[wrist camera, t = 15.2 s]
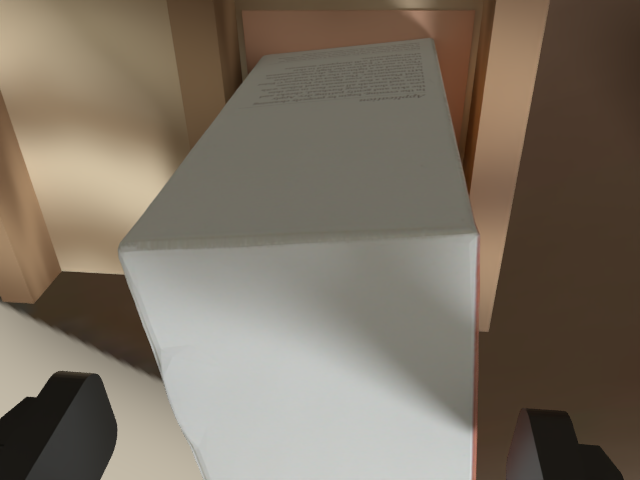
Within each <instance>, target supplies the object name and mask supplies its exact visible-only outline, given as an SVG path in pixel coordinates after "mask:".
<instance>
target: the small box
mask: <svg viewBox="0 0 640 480" xmlns="http://www.w3.org/2000/svg"><path fill="white" fill-rule="evenodd" d="M118 257H119V261H120V263H121V265H122V268H123V271H124V274H125V277H126V280H127V283H128V286H129V289H130V291H131V294H132V296H133V299H134V301H135V304H136V307H137V310H138V313H139V316H140V319H141V321H142V324H143V327H144V329H145V332H146V334H147V337H148V339H149V342H150V345H151V347H152V350H153V353H154V356H155V359H156V362H157V364H158V367H159V370H160V373H161V377H162V380H163V383H164V387H165V390H166V394H167V397H168V400H169V403H170V405H171V408H172V410H173V413H174V415H175V418H176V420H177V422H178V424H179V426H180V428H181V430H182V432H183V434H184V436H185V438H186V440H187V441H188V443H189V445H190V447H191V449H192V452H193V455H194V458H195V460H196V462H197V465H198V467H199V470H200V472H201V475H202V477H203V480H476V457H477V404H478V347H479V303H480V233H479V231H478V228H477V226H476V223H475V219H474V215H473V210H472V206H471V203H470V197H469V194H468V189H467V184H466V180H465V175H464V171H463V167H462V162H461V158H460V154H459V150H458V146H457V141H456V136H455V131H454V127H453V124H452V119H451V114H450V110H449V106H448V102H447V96H446V92H445V89H444V83H443V79H442V75H441V70H440V65H439V60H438V55H437V51H436V46H435V42H434V39H433V38H423V39H414V40H405V41H395V42H386V43H376V44H367V45H357V46H348V47H338V48H328V49H319V50H308V51H298V52H289V53H279V54H269V55H264V56H262V58H261V59H260V60H259V61H258V63H257V64H256V66H255V67H254V68H253V69H252V71H251V72H250V73H249V75H248V76H247V77H246V79H245V80H244V81H243V83H242V84H241V85H240V86H239V88H238V89H237V90H236V92H235V93H234V94H233V96H232V97H231V98H230V99H229V101H228V102H227V103H226V105H225V106H224V107H223V109H222V110H221V112H220V113H219V114H218V116H217V117H216V118H215V120H214V121H213V122H212V124H211V125H210V126H209V128H208V129H207V130H206V131H205V133H204V134H203V135H202V137H201V138H200V139H199V140H198V142H197V143H196V144H195V146H194V147H193V148H192V150H191V151H190V152H189V154H188V155H187V156H186V158H185V159H184V160H183V162H182V163H181V164H180V166H179V167H178V168H177V170H176V171H175V172H174V174H173V175H172V176H171V178H170V179H169V180H168V182H167V183H166V184H165V186H164V187H163V188H162V190H161V191H160V192H159V194H158V195H157V196H156V198H155V199H154V200H153V201H152V203H151V204H150V205H149V207H148V208H147V209H146V211H145V212H144V213H143V215H142V216H141V217H140V218H139V220H138V221H137V222H136V223H135V225H134V226H133V227H132V228H131V230H130V231H129V232H128V233H127V235H126V236H125V237H124V238H123V240H122V241H121V242H120V244H119V247H118Z"/></svg>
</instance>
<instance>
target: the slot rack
mask: <svg viewBox="0 0 640 480" xmlns="http://www.w3.org/2000/svg"><path fill="white" fill-rule="evenodd" d="M549 2H550V0H0V296H1V298H2V300H3V302H18V303H35V302H36V300H37V299H38V298H39V297H40V296H41V295H42V293H43V292H44V291H45V290H46V289H47V288H48V286H49V285H50V284H51V283H52V282H53V280H54V279H55V278H56V277H57V276H58V275H59V273H60V272H61V271H72V272H90V273H108V274H124V271H123V268H122V265H121V263H120V261H119V257H118V247H119V244H120V242H121V241H122V240H123V238H124V237H125V236H126V235H127V233H128V232H129V231H130V230H131V228H132V227H133V226H134V225H135V223H136V222H137V221H138V220H139V218H140V217H141V216H142V215H143V213H144V212H145V211H146V209H147V208H148V207H149V205H150V204H151V203H152V201H153V200H154V199H155V198H156V196H157V195H158V194H159V192H160V191H161V190H162V188H163V187H164V186H165V184H166V183H167V182H168V180H169V179H170V178H171V176H172V175H173V174H174V172H175V171H176V170H177V168H178V167H179V166H180V164H181V163H182V162H183V160H184V159H185V158H186V156H187V155H188V154H189V152H190V151H191V150H192V148H193V147H194V146H195V144H196V143H197V142H198V140H199V139H200V138H201V137H202V135H203V134H204V133H205V131H206V130H207V129H208V128H209V126H210V125H211V124H212V122H213V121H214V120H215V118H216V117H217V116H218V114H219V113H220V112H221V110H222V109H223V107H224V106H225V105H226V103H227V102H228V101H229V99H230V98H231V97H232V96H233V94H234V93H235V92H236V90H237V89H238V88H239V86H240V85H241V84H242V83H243V81H244V80H245V79H246V77H247V76H248V75H249V73H250V72H251V71H252V69H253V68H254V67H255V66H256V64H257V63H258V61H259V60H260V59H261V58H262V56H264V55H269V54H279V53H289V52H298V51H308V50H319V49H328V48H338V47H348V46H357V45H367V44H376V43H386V42H395V41H405V40H414V39H423V38H433V39H434V42H435V46H436V51H437V55H438V60H439V65H440V70H441V75H442V79H443V83H444V89H445V92H446V96H447V102H448V106H449V110H450V114H451V119H452V124H453V127H454V131H455V136H456V141H457V146H458V150H459V154H460V158H461V162H462V167H463V171H464V175H465V180H466V184H467V189H468V194H469V197H470V203H471V206H472V210H473V215H474V219H475V223H476V226H477V228H478V231H479V233H480V303H479V331H486V332H488V331H489V325H490V320H491V315H492V309H493V304H494V298H495V293H496V288H497V282H498V277H499V271H500V266H501V261H502V255H503V250H504V244H505V239H506V234H507V228H508V223H509V218H510V212H511V207H512V201H513V196H514V191H515V185H516V180H517V174H518V169H519V164H520V158H521V153H522V148H523V142H524V137H525V131H526V126H527V121H528V115H529V110H530V104H531V99H532V94H533V88H534V83H535V77H536V72H537V67H538V61H539V56H540V51H541V45H542V40H543V34H544V29H545V24H546V18H547V13H548V7H549Z"/></svg>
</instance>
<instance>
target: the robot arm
mask: <svg viewBox="0 0 640 480" xmlns="http://www.w3.org/2000/svg"><path fill="white" fill-rule="evenodd" d="M116 440H117V423H116V419H115V416H114V414H113V411H112V408H111V405H110V402H109V399H108V397H107V393H106V390H105V388H104V385H103V382H102V379H101V378H100V376H99V375H98V374H94V373H81V372H68V371H58V372H56V373H54V374H53V375H52V376H51V377H50V378H49V380H48V381H47V383H46V384H45V386H44V388H43V389H42V390H41V392H40V393H39V395H38V396H37V397H26V398H25V399H23V400H22V401H21V402H20V403H19V404H17V405H16V406H15V407H14V408H12V409H11V410H10V411H9V412H8V413H6V414H5V415H4V416H3V417H1V419H0V480H100V479H101V477H102V475H103V473H104V470H105V469H106V467H107V465H108V462H109V460H110V458H111V456H112V454H113V451H114V448H115V445H116ZM506 480H624V479H623V476H622V474H621V472H620V471H619V470H618V469H617V467H616V466H615V465H614V464H613V462H612V461H611V460H610V459H609V457H608V456H607V455H606V454H605V452H604V451H603V450H602V449H601V447H600V446H596V445H584V444H578V441H577V437H576V434H575V431H574V428H573V424H572V421H571V419H570V417H569V415H568V413H567V412H565V411H555V410H542V409H529V408H522V409H521V411H520V413H519V416H518V420H517V424H516V427H515V431H514V435H513V439H512V442H511V446H510V450H509V453H508V457H507V464H506Z"/></svg>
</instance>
